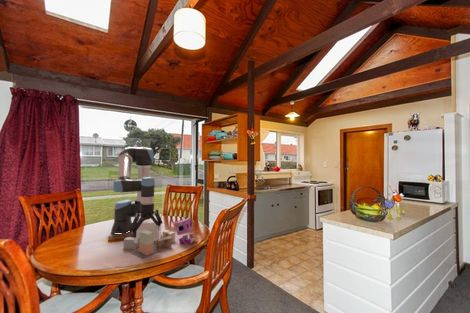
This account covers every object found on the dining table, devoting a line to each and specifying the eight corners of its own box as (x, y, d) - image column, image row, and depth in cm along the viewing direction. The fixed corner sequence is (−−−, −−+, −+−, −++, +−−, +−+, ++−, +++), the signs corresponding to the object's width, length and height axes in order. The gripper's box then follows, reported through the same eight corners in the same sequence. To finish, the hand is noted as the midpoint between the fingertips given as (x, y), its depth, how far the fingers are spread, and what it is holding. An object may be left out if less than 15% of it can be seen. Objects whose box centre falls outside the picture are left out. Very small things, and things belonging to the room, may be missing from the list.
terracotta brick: (139, 251, 129) (139, 241, 130) (145, 249, 133) (145, 239, 133) (147, 255, 125) (147, 244, 125) (153, 253, 128) (153, 242, 128)
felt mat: (130, 254, 127) (130, 253, 127) (149, 247, 137) (149, 246, 137) (142, 259, 120) (142, 258, 120) (161, 252, 130) (161, 251, 130)
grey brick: (123, 249, 134) (123, 239, 134) (127, 246, 138) (127, 237, 138) (135, 249, 134) (136, 239, 134) (139, 247, 138) (139, 237, 138)
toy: (190, 243, 142) (184, 221, 144) (179, 246, 143) (173, 224, 145) (196, 238, 152) (191, 217, 154) (186, 241, 154) (181, 220, 156)
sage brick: (139, 241, 129) (139, 231, 129) (145, 239, 133) (145, 230, 133) (147, 244, 125) (147, 234, 125) (153, 242, 128) (153, 232, 128)
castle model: (136, 242, 145) (137, 220, 145) (141, 235, 159) (141, 214, 159) (159, 241, 148) (159, 219, 148) (161, 234, 162) (162, 214, 162)
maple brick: (162, 240, 150) (162, 231, 150) (167, 238, 153) (167, 230, 153) (170, 242, 146) (170, 233, 146) (174, 241, 149) (175, 232, 149)
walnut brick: (158, 250, 133) (159, 240, 133) (156, 248, 136) (156, 239, 136) (171, 247, 138) (171, 238, 138) (168, 245, 141) (168, 236, 141)
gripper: (130, 207, 117) (129, 247, 117) (168, 201, 137) (167, 234, 137) (123, 205, 121) (122, 244, 121) (161, 199, 142) (160, 232, 141)
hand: (146, 239), depth 129 cm, fingers open, 13 cm apart
